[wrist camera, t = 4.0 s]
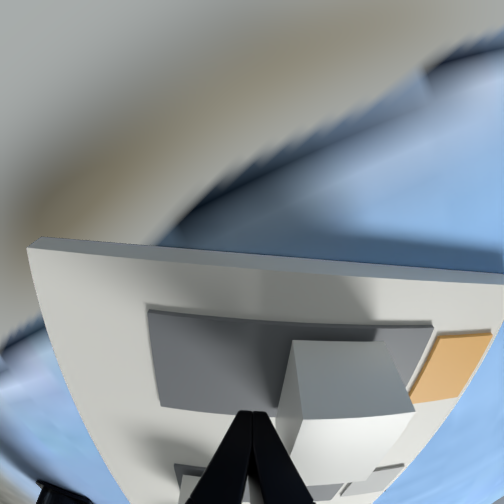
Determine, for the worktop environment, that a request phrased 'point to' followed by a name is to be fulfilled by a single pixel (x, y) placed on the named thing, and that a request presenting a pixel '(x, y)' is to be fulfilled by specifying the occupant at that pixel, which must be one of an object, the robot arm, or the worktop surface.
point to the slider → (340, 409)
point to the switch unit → (243, 347)
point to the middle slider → (187, 487)
